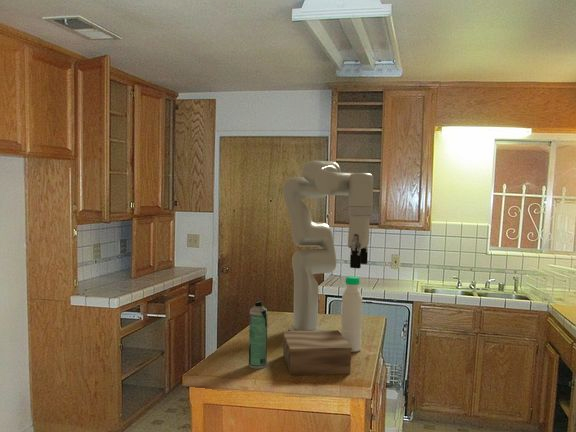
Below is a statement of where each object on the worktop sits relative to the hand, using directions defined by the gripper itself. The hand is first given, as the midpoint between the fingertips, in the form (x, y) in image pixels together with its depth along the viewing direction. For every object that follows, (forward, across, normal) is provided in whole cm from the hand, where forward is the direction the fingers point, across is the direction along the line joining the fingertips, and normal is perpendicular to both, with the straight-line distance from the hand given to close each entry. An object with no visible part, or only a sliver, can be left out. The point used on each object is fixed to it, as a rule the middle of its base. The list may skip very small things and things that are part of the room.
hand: (358, 265), depth 161 cm
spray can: (+31, +17, -27) cm, 44 cm away
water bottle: (+31, -11, -4) cm, 33 cm away
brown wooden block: (+31, +9, -11) cm, 34 cm away
